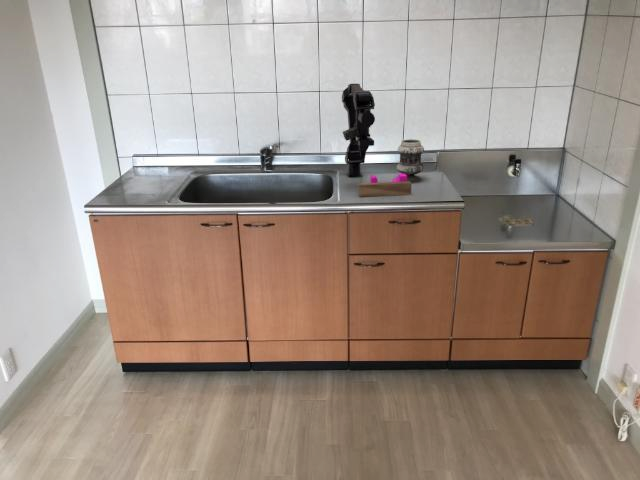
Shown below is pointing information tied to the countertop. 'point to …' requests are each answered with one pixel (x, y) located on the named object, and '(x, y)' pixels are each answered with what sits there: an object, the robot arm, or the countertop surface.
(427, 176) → the countertop surface
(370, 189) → the walnut board
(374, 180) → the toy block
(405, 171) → the apothecary jar
